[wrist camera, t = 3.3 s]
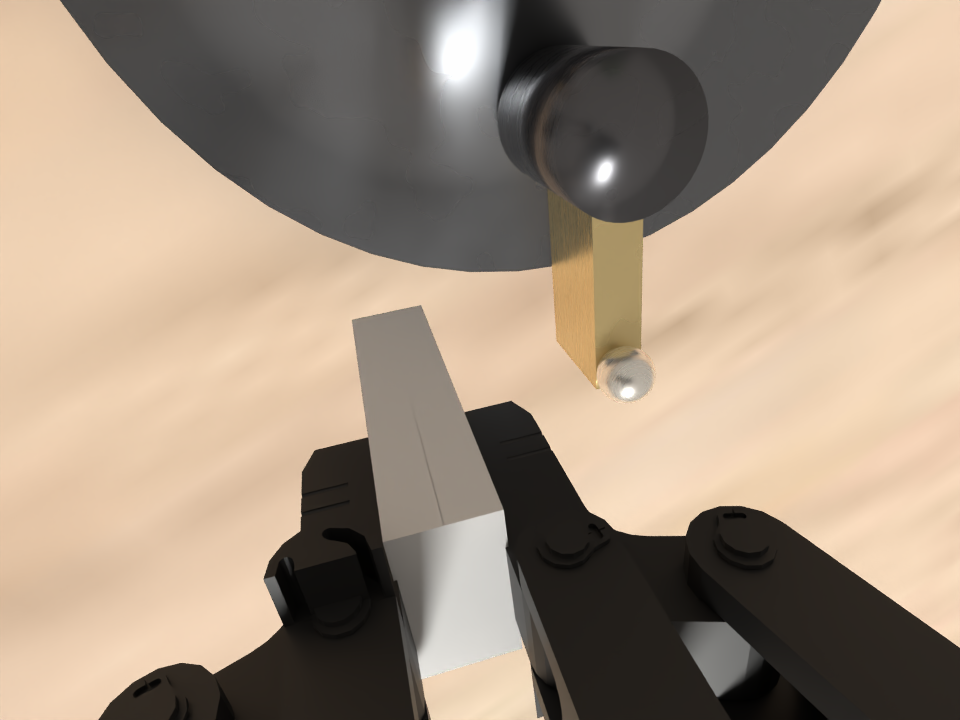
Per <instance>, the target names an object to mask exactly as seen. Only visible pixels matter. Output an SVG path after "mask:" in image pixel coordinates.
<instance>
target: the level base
mask: <svg viewBox="0 0 960 720" xmlns="http://www.w3.org/2000/svg"><path fill="white" fill-rule="evenodd" d="M60 1H61V2H62V4H63V5H64V6H65V8H66V9H67V10H68V12H69V13H70V14H71V16H72V17H73V18H74V20H75V21H76V22H77V24H78V25H79V26H80V28H81V29H82V30H83V32H84V33H85V34H86V36H87V37H88V38H89V40H90V41H91V42H92V44H93V45H94V46H95V48H96V49H97V50H98V52H99V53H100V54H101V56H102V57H103V58H104V60H105V61H106V63H107V64H108V65H109V66H110V67H111V68H112V69H113V70H114V71H115V72H116V74H117V75H118V76H119V77H120V78H121V79H122V80H123V81H124V82H125V83H126V84H127V86H128V87H129V88H130V89H131V90H132V91H133V92H134V93H135V94H136V95H137V96H138V97H139V99H140V100H141V101H142V102H143V103H144V104H145V105H146V106H147V107H148V108H149V109H150V111H151V112H152V113H153V114H154V115H155V116H156V117H157V118H158V119H159V120H160V121H161V122H162V123H163V124H164V125H165V126H166V127H167V128H169V129H170V130H171V131H172V132H173V133H174V134H175V135H177V136H178V137H179V138H180V139H181V140H182V141H183V142H184V143H186V144H187V145H188V146H189V147H190V148H191V149H192V150H194V151H195V152H196V153H197V154H198V155H199V156H200V157H202V158H203V159H204V160H205V161H206V162H207V163H208V164H210V165H211V166H212V167H213V168H214V169H215V170H217V171H218V172H220V173H221V174H223V175H224V176H226V177H227V178H228V179H230V180H231V181H233V182H234V183H236V184H237V185H238V186H240V187H241V188H243V189H244V190H246V191H247V192H249V193H250V194H251V195H253V196H254V197H256V198H257V199H259V200H260V201H261V202H263V203H264V204H266V205H267V206H269V207H271V208H273V209H274V210H276V211H278V212H280V213H282V214H284V215H286V216H288V217H289V218H291V219H293V220H295V221H297V222H299V223H301V224H303V225H304V226H306V227H308V228H310V229H312V230H314V231H316V232H317V233H319V234H322V235H324V236H327V237H329V238H332V239H334V240H337V241H340V242H342V243H345V244H347V245H350V246H353V247H355V248H358V249H360V250H363V251H366V252H368V253H371V254H374V255H378V256H382V257H386V258H390V259H394V260H398V261H402V262H406V263H410V264H414V265H419V266H423V267H432V268H441V269H449V270H458V271H467V272H498V271H523V270H530V269H536V268H543V267H550V266H552V257H551V241H550V225H549V209H548V193H547V188H545V187H544V186H542V185H541V184H539V183H538V182H536V181H534V180H533V179H531V178H530V177H528V176H527V175H525V174H524V173H522V172H521V171H520V170H518V169H517V168H516V167H515V166H514V165H513V163H512V162H511V161H510V160H509V158H508V156H507V155H506V153H505V151H504V149H503V147H502V144H501V141H500V137H499V132H498V119H497V118H498V108H499V102H500V98H501V95H502V92H503V90H504V87H505V85H506V83H507V81H508V79H509V78H510V76H511V74H512V73H513V72H514V71H515V69H516V68H517V67H518V66H519V65H520V64H521V63H522V62H523V61H524V60H525V59H526V58H528V57H529V56H530V55H532V54H533V53H535V52H537V51H539V50H541V49H544V48H546V47H550V46H554V45H589V46H616V47H643V48H656V49H659V50H663V51H666V52H669V53H671V54H673V55H675V56H676V57H678V58H679V59H681V60H682V61H683V62H685V63H686V64H687V65H688V66H689V67H690V68H691V70H692V71H693V72H694V74H695V75H696V76H697V78H698V80H699V82H700V84H701V86H702V88H703V91H704V94H705V97H706V102H707V107H708V116H709V118H708V135H707V141H706V145H705V149H704V152H703V155H702V158H701V161H700V163H699V165H698V167H697V170H696V172H695V173H694V175H693V177H692V178H691V180H690V181H689V183H688V184H687V186H686V187H685V188H684V190H683V191H682V192H681V193H680V194H679V195H678V196H677V197H676V198H675V199H674V200H673V201H672V202H671V203H670V204H668V205H667V206H666V207H664V208H663V209H661V210H660V211H658V212H657V213H655V214H653V215H651V216H649V217H646V218H644V219H643V238H644V237H646V236H648V235H651V234H653V233H655V232H656V231H658V230H660V229H662V228H663V227H665V226H667V225H669V224H671V223H672V222H674V221H676V220H678V219H680V218H681V217H683V216H685V215H687V214H688V213H690V212H692V211H694V210H695V209H696V208H698V207H699V206H701V205H702V204H703V203H705V202H706V201H708V200H709V199H710V198H712V197H713V196H715V195H716V194H717V193H719V192H720V191H722V190H723V189H724V188H726V187H727V186H728V185H730V184H731V183H733V182H734V181H735V180H736V179H737V178H738V177H739V176H741V175H742V174H743V173H744V172H745V171H746V170H747V169H748V168H750V167H751V166H752V165H753V164H754V163H755V162H756V161H757V160H759V159H760V158H761V157H762V156H763V155H764V154H765V153H766V152H768V151H769V150H770V149H771V148H772V147H773V146H774V145H775V144H776V143H777V142H778V140H779V139H780V138H781V137H782V136H783V135H784V134H785V133H786V132H787V131H788V130H789V129H790V127H791V126H792V125H793V124H794V123H795V122H796V121H797V120H798V119H799V118H800V117H801V116H802V114H803V113H804V112H805V111H806V110H807V109H808V108H809V106H810V105H811V104H812V103H813V101H814V100H815V99H816V97H817V96H818V95H819V93H820V92H821V91H822V89H823V88H824V87H825V86H826V84H827V83H828V82H829V80H830V79H831V78H832V76H833V75H834V74H835V72H836V71H837V70H838V69H839V67H840V66H841V65H842V63H843V62H844V60H845V59H846V57H847V55H848V54H849V52H850V51H851V49H852V48H853V46H854V44H855V43H856V41H857V40H858V38H859V37H860V35H861V33H862V32H863V30H864V29H865V27H866V26H867V24H868V22H869V21H870V19H871V18H872V16H873V14H874V13H875V11H876V9H877V7H878V6H879V4H880V2H881V0H60Z"/></svg>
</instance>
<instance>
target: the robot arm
mask: <svg viewBox="0 0 960 720" xmlns="http://www.w3.org/2000/svg"><path fill="white" fill-rule="evenodd" d="M352 324H353V331H354V339H355V346H356V353H357V360H358V367H359V375H360V382H361V389H362V396H363V403H364V411H365V418H366V425H367V432H368V438H364V439H360V440H356V441H352V442H347V443H343V444H339V445H335V446H331V447H327V448H323V449H318V450H315V451H314V453H313V454H312V456H311V458H310V459H309V461H308V463H307V465H306V466H305V468H304V470H303V471H302V498H301V514H302V517H301V531H300V532H299V533H297V534H296V535H295V536H293V537H292V538H291V539H289V540H288V541H286V542H285V543H284V544H283V545H282V546H281V547H280V548H279V550H278V551H277V552H276V553H275V555H274V556H273V557H272V558H271V560H270V561H269V564H268V567H267V570H266V573H265V576H264V582H265V584H266V586H267V589H268V591H269V593H270V595H271V598H272V600H273V602H274V604H275V607H276V609H277V611H278V614H279V616H280V618H281V620H282V623H283V626H282V627H281V628H280V629H279V630H278V631H277V632H276V633H275V634H274V635H273V636H272V637H271V638H270V639H269V640H268V641H267V642H266V643H264V644H263V645H261V646H260V647H258V648H257V649H255V650H254V651H253V652H251V653H250V654H248V655H246V656H244V657H243V658H241V659H239V660H237V661H236V662H234V663H232V664H231V665H229V666H227V667H225V668H224V669H222V670H220V671H219V672H217V673H215V674H212V673H210V672H209V671H208V670H206V669H205V668H204V667H203V666H201V665H194V664H186V663H179V664H175V665H171V666H167V667H163V668H159V669H157V670H155V671H153V672H151V673H149V674H148V675H146V676H144V677H142V678H140V679H139V680H137V681H135V682H133V683H132V684H131V685H130V686H129V687H128V688H126V689H125V690H124V691H123V692H122V693H121V694H120V695H119V696H117V697H116V698H115V699H114V700H113V701H112V702H111V703H110V704H109V706H108V707H107V708H106V710H105V711H104V713H103V714H102V715H101V717H100V718H99V720H431V718H430V715H429V711H428V708H427V704H426V701H425V697H424V691H423V685H422V679H424V678H428V677H431V676H434V675H437V674H441V673H444V672H447V671H450V670H454V669H457V668H460V667H463V666H467V665H470V664H473V663H476V662H480V661H483V660H486V659H489V658H493V657H496V656H499V655H503V654H506V653H509V652H512V651H516V650H519V649H522V642H521V637H522V640H523V643H524V645H525V648H526V651H527V654H528V657H529V660H530V663H531V671H532V679H533V687H534V694H535V702H536V710H537V718H540V717H543V716H544V719H545V720H960V648H959V647H958V646H956V645H955V644H954V643H952V642H951V641H949V640H948V639H947V638H945V637H944V636H942V635H941V634H939V633H938V632H937V631H935V630H934V629H932V628H931V627H930V626H928V625H927V624H925V623H924V622H923V621H921V620H920V619H918V618H917V617H916V616H914V615H913V614H911V613H910V612H908V611H907V610H906V609H904V608H903V607H901V606H900V605H899V604H897V603H896V602H894V601H893V600H892V599H890V598H889V597H887V596H886V595H885V594H883V593H882V592H880V591H879V590H877V589H876V588H875V587H873V586H872V585H870V584H869V583H868V582H866V581H865V580H863V579H862V578H861V577H859V576H858V575H856V574H855V573H854V572H852V571H851V570H849V569H848V568H846V567H845V566H844V565H842V564H841V563H839V562H838V561H837V560H835V559H834V558H832V557H831V556H830V555H828V554H827V553H825V552H824V551H823V550H821V549H820V548H818V547H817V546H815V545H814V544H813V543H811V542H810V541H808V540H807V539H806V538H804V537H803V536H801V535H800V534H799V533H797V532H796V531H794V530H793V529H791V528H790V527H789V526H787V525H786V524H784V523H783V522H781V521H780V520H778V519H776V518H774V517H772V516H770V515H768V514H766V513H764V512H762V511H758V510H754V509H750V508H746V507H742V506H719V507H716V508H713V509H710V510H707V511H704V512H702V513H700V514H699V515H698V516H697V517H696V518H695V519H694V520H692V521H691V522H690V525H689V528H688V531H687V534H686V536H639V535H630V534H627V533H623V532H619V531H616V530H614V529H613V528H612V527H611V526H610V525H609V524H608V523H607V522H606V521H605V520H604V519H602V518H600V517H598V516H596V515H594V514H592V513H590V512H589V511H588V510H587V509H586V507H585V506H584V504H583V503H582V501H581V499H580V497H579V496H578V494H577V492H576V490H575V489H574V487H573V485H572V484H571V482H570V480H569V478H568V477H567V475H566V473H565V472H564V470H563V468H562V466H561V465H560V463H559V461H558V459H557V458H556V456H555V454H554V453H553V451H551V449H550V446H549V444H548V442H547V440H546V439H545V437H544V435H542V432H541V430H540V428H539V427H538V425H537V423H536V422H535V420H534V418H533V416H532V415H531V413H529V412H527V411H526V410H524V409H523V408H521V407H520V406H518V405H516V404H515V403H513V402H512V401H509V402H505V403H501V404H497V405H492V406H488V407H484V408H480V409H476V410H472V411H468V412H464V411H463V408H462V406H461V403H460V401H459V398H458V396H457V393H456V391H455V388H454V386H453V383H452V381H451V378H450V376H449V373H448V371H447V369H446V366H445V364H444V361H443V359H442V356H441V354H440V351H439V349H438V346H437V344H436V341H435V339H434V336H433V334H432V331H431V329H430V327H429V324H428V322H427V319H426V317H425V314H424V312H423V309H422V307H421V305H420V306H415V307H411V308H406V309H401V310H396V311H392V312H387V313H382V314H377V315H373V316H368V317H363V318H358V319H354V320H352Z"/></svg>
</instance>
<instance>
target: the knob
mask: <svg viewBox="0 0 960 720" xmlns="http://www.w3.org/2000/svg"><path fill="white" fill-rule="evenodd" d="M708 118H709V116H708V107H707V102H706V97H705V94H704V91H703V88H702V86H701V84H700V82H699V80H698V78H697V76H696V75H695V74H694V72H693V71H692V70H691V68H690V67H689V66H688V65H687V64H686V63H685V62H683V61H682V60H681V59H679V58H678V57H676V56H675V55H673V54H671V53H669V52H666V51H663V50H659V49H656V48H643V47H616V46H589V45H554V46H550V47H546V48H544V49H541V50H539V51H537V52H535V53H533V54H532V55H530V56H529V57H528V58H526V59H525V60H524V61H523V62H522V63H521V64H520V65H519V66H518V67H517V68H516V69H515V71H514V72H513V73H512V74H511V76H510V78H509V79H508V81H507V83H506V85H505V87H504V90H503V92H502V95H501V98H500V102H499V108H498V118H497V119H498V132H499V137H500V141H501V144H502V147H503V149H504V151H505V153H506V155H507V156H508V158H509V160H510V161H511V162H512V163H513V165H514V166H515V167H516V168H517V169H518V170H520V171H521V172H522V173H524V174H525V175H527V176H528V177H530V178H531V179H533V180H534V181H536V182H538V183H539V184H541V185H542V186H544V187H545V188H547V193H548V209H549V225H550V241H551V257H552V273H553V289H554V306H555V322H556V338H557V342H558V343H559V344H560V346H561V347H562V348H563V349H564V350H565V352H566V353H567V354H568V355H569V357H570V358H571V359H572V360H573V361H574V363H575V364H576V365H577V366H578V367H579V369H580V370H581V371H582V372H583V374H584V375H585V376H586V377H587V378H588V380H589V381H590V382H591V383H592V385H593V386H594V387H595V388H596V389H601V391H602V392H603V393H604V394H605V395H606V396H607V397H608V398H610V399H611V400H613V401H615V402H618V403H625V404H627V403H634V402H637V401H639V400H641V399H643V398H644V397H646V396H647V395H648V394H649V392H650V391H651V390H652V388H653V386H654V383H655V378H656V371H655V367H654V364H653V362H652V360H651V358H650V357H649V356H648V355H647V354H646V353H645V352H643V351H642V350H641V312H642V256H643V219H644V218H646V217H649V216H651V215H653V214H655V213H657V212H658V211H660V210H661V209H663V208H664V207H666V206H667V205H668V204H670V203H671V202H672V201H673V200H674V199H675V198H676V197H677V196H678V195H679V194H680V193H681V192H682V191H683V190H684V188H685V187H686V186H687V184H688V183H689V181H690V180H691V178H692V177H693V175H694V173H695V172H696V170H697V167H698V165H699V163H700V161H701V158H702V155H703V152H704V149H705V145H706V141H707V135H708Z"/></svg>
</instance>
